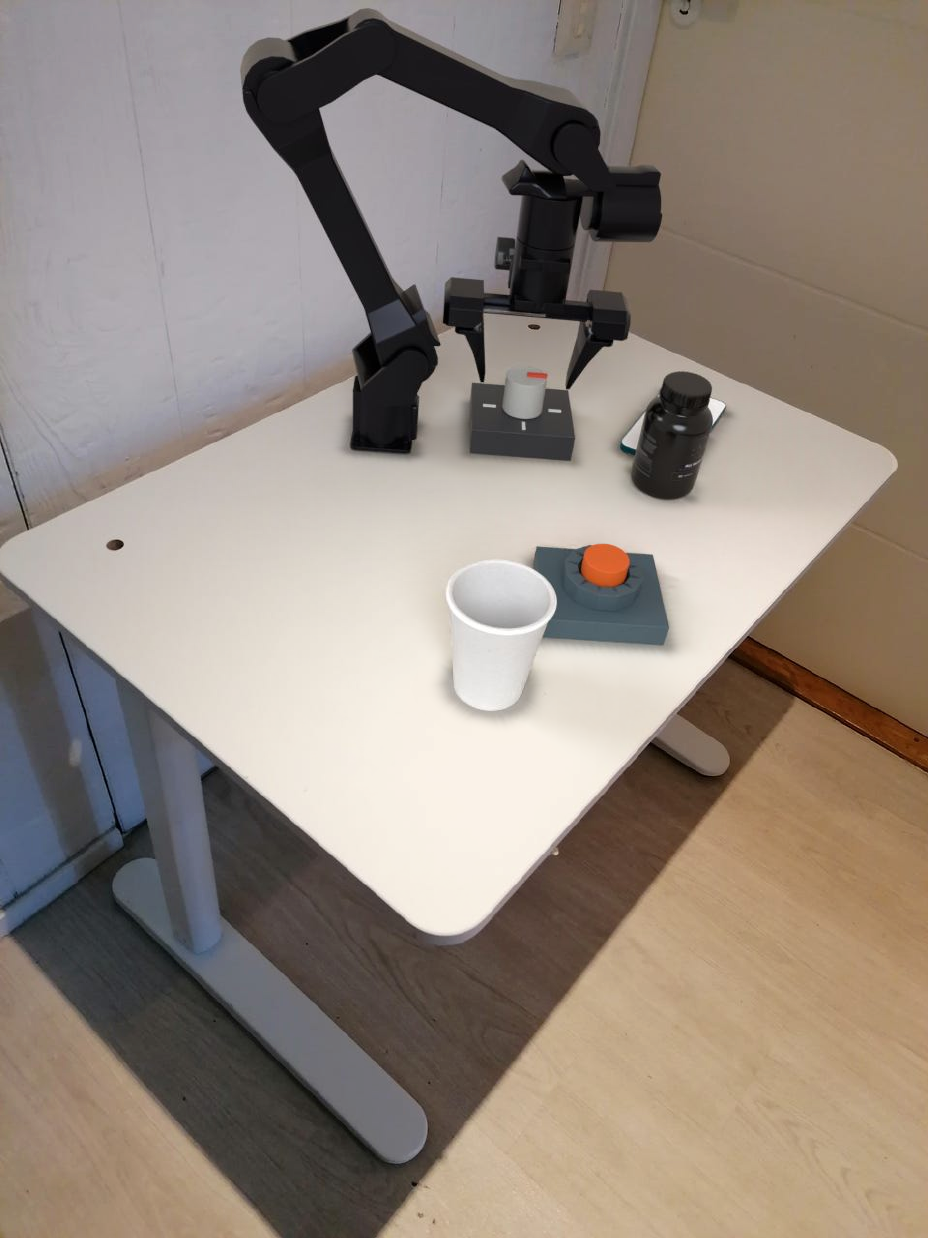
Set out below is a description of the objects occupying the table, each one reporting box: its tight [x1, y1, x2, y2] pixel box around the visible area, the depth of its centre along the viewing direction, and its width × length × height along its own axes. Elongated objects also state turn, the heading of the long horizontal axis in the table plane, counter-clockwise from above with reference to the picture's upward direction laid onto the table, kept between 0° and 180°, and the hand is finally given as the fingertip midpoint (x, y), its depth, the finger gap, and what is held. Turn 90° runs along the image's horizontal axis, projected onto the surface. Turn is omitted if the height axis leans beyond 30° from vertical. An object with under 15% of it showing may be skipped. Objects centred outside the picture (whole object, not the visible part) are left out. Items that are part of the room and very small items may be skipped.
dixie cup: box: [445, 558, 557, 712], centre depth 76 cm, size 8×8×10 cm
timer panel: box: [469, 382, 576, 462], centre depth 107 cm, size 11×10×3 cm
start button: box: [581, 543, 630, 587], centre depth 85 cm, size 4×4×2 cm
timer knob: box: [502, 365, 548, 419], centre depth 105 cm, size 4×4×4 cm
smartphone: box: [619, 393, 727, 457], centre depth 111 cm, size 8×1×16 cm
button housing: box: [532, 544, 670, 646], centre depth 87 cm, size 11×10×4 cm
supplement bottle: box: [630, 370, 713, 501], centre depth 99 cm, size 7×7×12 cm
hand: (524, 383), depth 104 cm, fingers open, 9 cm apart
